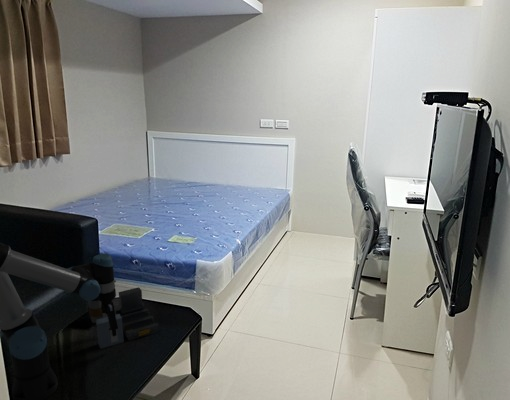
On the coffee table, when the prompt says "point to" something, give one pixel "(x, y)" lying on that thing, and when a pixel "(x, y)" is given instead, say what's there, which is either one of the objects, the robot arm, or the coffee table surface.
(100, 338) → the gray rectangular block
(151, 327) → the rack
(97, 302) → the coffee cup
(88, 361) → the coffee table surface
